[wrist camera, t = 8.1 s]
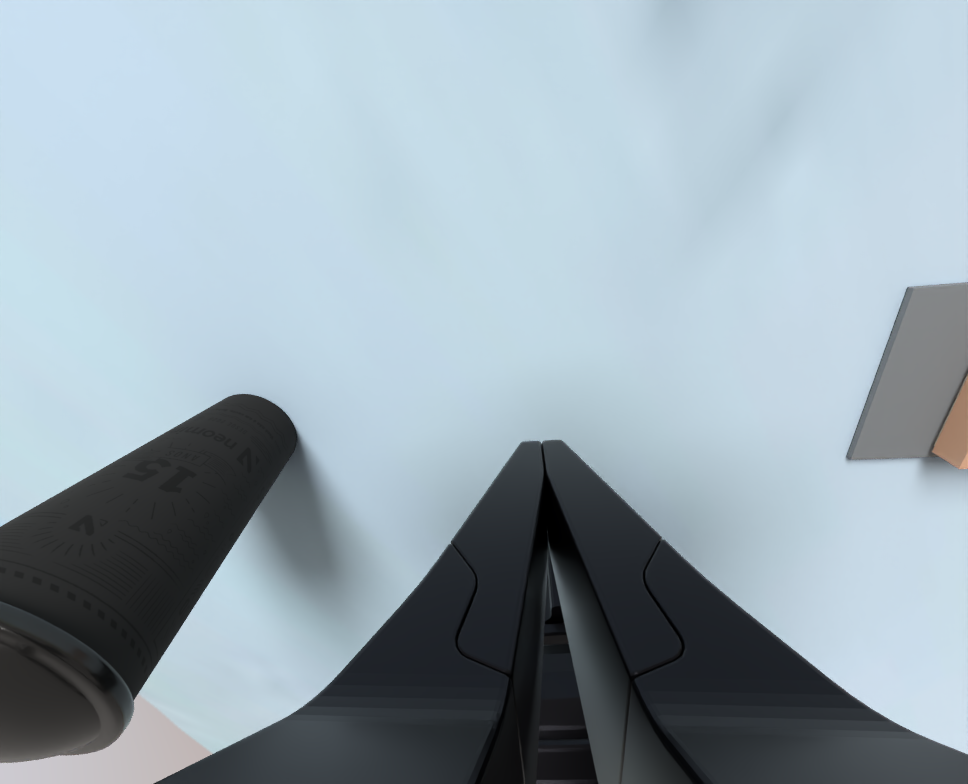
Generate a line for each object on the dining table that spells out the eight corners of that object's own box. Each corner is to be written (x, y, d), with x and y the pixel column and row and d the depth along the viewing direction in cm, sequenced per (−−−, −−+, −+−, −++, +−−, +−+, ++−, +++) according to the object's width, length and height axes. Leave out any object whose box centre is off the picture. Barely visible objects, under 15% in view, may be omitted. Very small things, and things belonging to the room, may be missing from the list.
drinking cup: (322, 492, 25) (-131, 1210, 8) (200, 469, 25) (-553, 1148, 7) (321, 385, 22) (-525, 1251, 4) (180, 358, 22) (-1335, 1136, 4)
